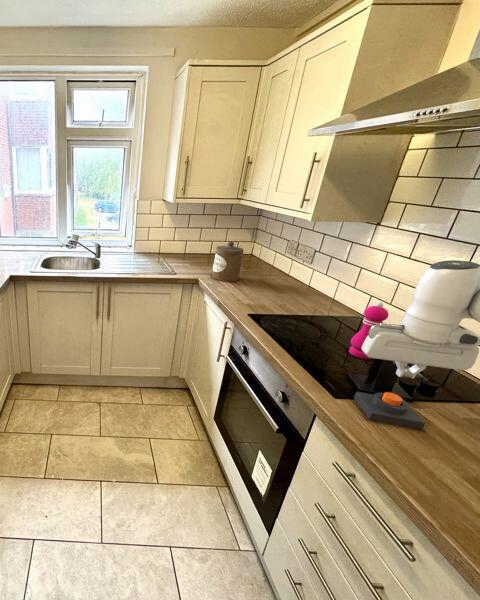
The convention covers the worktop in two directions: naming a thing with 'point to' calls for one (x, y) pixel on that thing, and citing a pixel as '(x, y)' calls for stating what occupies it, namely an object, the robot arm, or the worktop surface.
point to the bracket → (379, 379)
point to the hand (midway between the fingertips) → (404, 376)
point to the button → (392, 399)
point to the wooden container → (227, 262)
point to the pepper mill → (367, 328)
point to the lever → (419, 376)
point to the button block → (388, 411)
